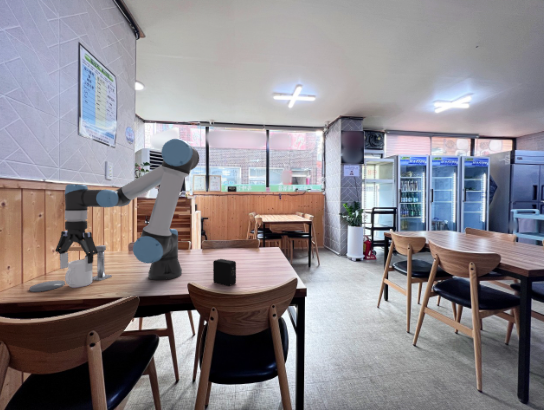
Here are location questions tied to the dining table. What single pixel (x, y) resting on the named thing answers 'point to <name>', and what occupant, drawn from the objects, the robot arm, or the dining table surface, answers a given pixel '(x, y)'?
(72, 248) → the orange-brown wooden bar
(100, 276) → the post
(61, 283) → the disc
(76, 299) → the dining table surface
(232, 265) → the electronic device
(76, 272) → the mug
